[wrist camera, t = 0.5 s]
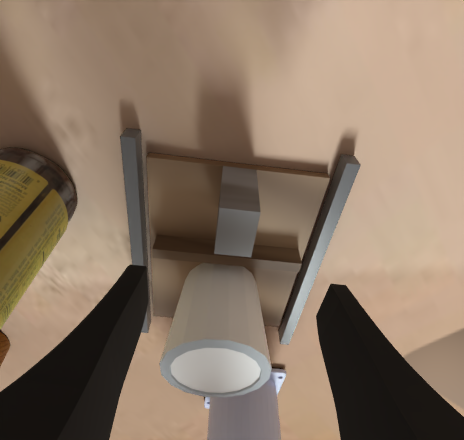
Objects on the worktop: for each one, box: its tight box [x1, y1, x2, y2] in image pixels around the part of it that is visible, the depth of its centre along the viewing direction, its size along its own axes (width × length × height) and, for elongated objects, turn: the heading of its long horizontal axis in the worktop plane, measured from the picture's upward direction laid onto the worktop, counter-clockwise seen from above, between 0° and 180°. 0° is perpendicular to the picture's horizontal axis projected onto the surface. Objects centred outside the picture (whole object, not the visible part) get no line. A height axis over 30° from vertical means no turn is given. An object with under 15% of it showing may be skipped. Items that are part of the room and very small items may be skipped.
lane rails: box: [120, 128, 360, 345], centre depth 23 cm, size 18×13×1 cm
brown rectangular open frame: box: [146, 153, 330, 327], centre depth 22 cm, size 15×11×5 cm
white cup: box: [160, 263, 272, 398], centre depth 22 cm, size 7×7×7 cm
